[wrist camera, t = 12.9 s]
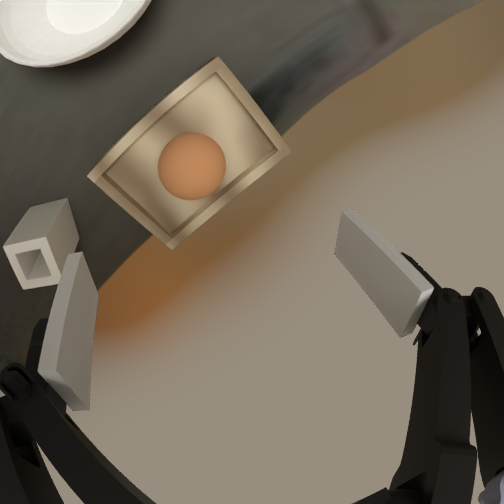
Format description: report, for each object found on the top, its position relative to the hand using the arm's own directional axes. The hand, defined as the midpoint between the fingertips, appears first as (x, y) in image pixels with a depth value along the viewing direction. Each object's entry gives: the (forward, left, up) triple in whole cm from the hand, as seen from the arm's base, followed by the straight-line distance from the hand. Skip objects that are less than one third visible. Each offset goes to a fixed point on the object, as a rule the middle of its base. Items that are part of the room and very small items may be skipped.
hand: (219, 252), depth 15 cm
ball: (0, 0, -14) cm, 14 cm away
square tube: (-16, -5, -18) cm, 25 cm away
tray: (0, 0, -18) cm, 18 cm away
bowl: (-9, +18, -18) cm, 27 cm away
